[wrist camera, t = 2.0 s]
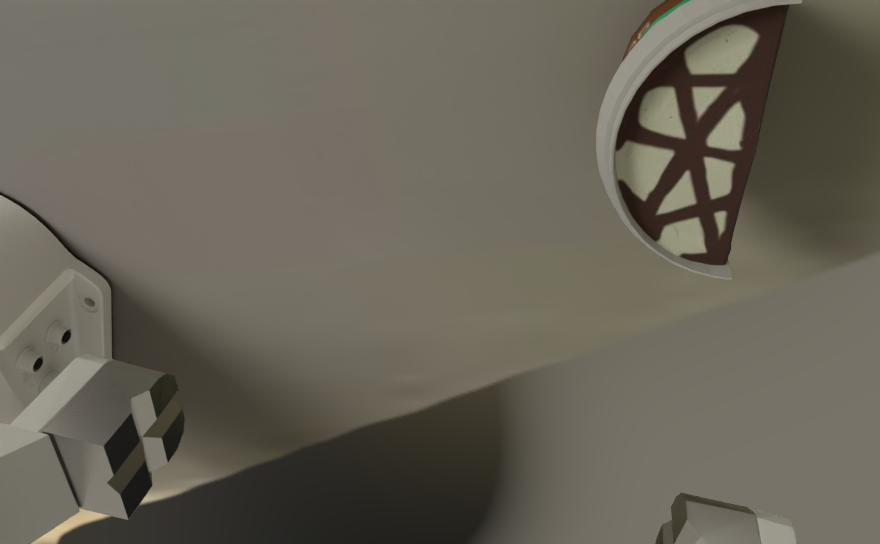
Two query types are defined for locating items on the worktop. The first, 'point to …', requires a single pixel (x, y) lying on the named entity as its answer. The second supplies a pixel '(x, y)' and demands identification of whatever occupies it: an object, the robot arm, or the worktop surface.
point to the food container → (689, 124)
